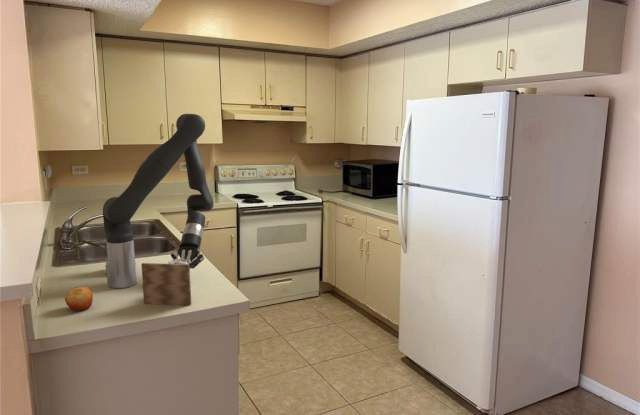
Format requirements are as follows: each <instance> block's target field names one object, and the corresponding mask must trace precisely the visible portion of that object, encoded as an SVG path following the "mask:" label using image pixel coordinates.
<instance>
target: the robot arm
mask: <svg viewBox="0 0 640 415" xmlns="http://www.w3.org/2000/svg"><path fill="white" fill-rule="evenodd" d="M175 127H176V131H175V132H174V134H173V135H172V136H171V137H170V138H168V140H167V141H165V142H164V143H163V144H161V145H159V146H158V147H157V148H155V149H154V150H153V151H152V152H151V153H150V154H149V155H148V156H147V157H146V158H145V160H143V162H142V163H141V164H140V166H139V167H138V169H137V170H136V172H135V175H134V176H133V179H132V180H131V182H130V184H129V185H128V186H127V188H126V189H125V190H124V191H123V192H122V193H121V194H120V195H118V196H112V197H110V198H109V199H107V200H106V201H104V203H103V206H102V218H103V227H104V234H105V239H106V247H107V249H106V251H107V252H106V253H107V260H108V261H106V262H105V266H106V267H105V270H106V281H107V282H106V284H107V287H109V288H113V289H126V288H130V287H132V286H135V285H136V284H137V272H136V271H137V269H136V268H137V267H136V265H135V263H136V255H135V242H134V241H135V239H134V232H133V230H132V229H133V228H132V225H131V220H132V218H133V216H135V214H136V213H137V211H138V209H139V208H140V206H141V205H142V204H143V202H144V201H145V199H146V198H147V197H148V196H149V195H150V193H152V192H153V190H154V189H155V188H156V187H157V186H158V185H159V183H161V181H162V180H163V179H164V178H165V177H166V176H167V175H168V173H170V171H171V170H172V168H173V167H174V166H175V164H176V163H177V162H178V161H179V159H180V158H181V157H182V156H183V157H184V161H185V168H186V174H187V182H188V187H189V189H190V190H194V191H197V192H199V193H200V194H197V193H196V194H190V195H189V196H188V198H187V200H186V208H187V219H186V221H185V226H184V229H183V231H182V235H181V240H180V243H179V248H178V249H177V251H176V252H175V253H171V254H170V257H171V258H172V260H175V259H184V260H186V261H187V263H188V264H189V265H190V270H191V269H193V270H194V269H195V268H196V267H197V266H198V265H200V263H202V262H203V261H204V260H205V256H204V255H203V253H201V252H200V250H201V244H202V240H203V236H204V227H205V224H206V216H205V214H204V213H201V212H209V211H212V209H213V208H214V202H215V201H214V199H213V196H212V193H211V192H210V189H209V185H208V183H207V178H206V176H207V175H206V169H205V164H204V162H203V159H202V156H201V154H200V150H199V146H198V141H197V140H198V139H199V138H200V137H201V136H202V135H203V133H204V132H205V130H206V129H205V128H206V121H205V119H204V118H203V116H200V115H199V114H196V113H184V114H180V116H178V118H177V119H176V122H175Z"/></svg>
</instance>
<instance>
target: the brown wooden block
mask: <svg viewBox="0 0 640 415" xmlns="http://www.w3.org/2000/svg"><path fill="white" fill-rule="evenodd" d="M141 276H142V279H141V280H142V291H143V304H145V305H177V306H178V305H180V306H190V305H192V293H191V291H192V289H191V269H190V265H189V264H169V263H160V262H159V263H155V262H154V263H153V262H152V263H151V262H150V263H149V262H142V263H141Z"/></svg>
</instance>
